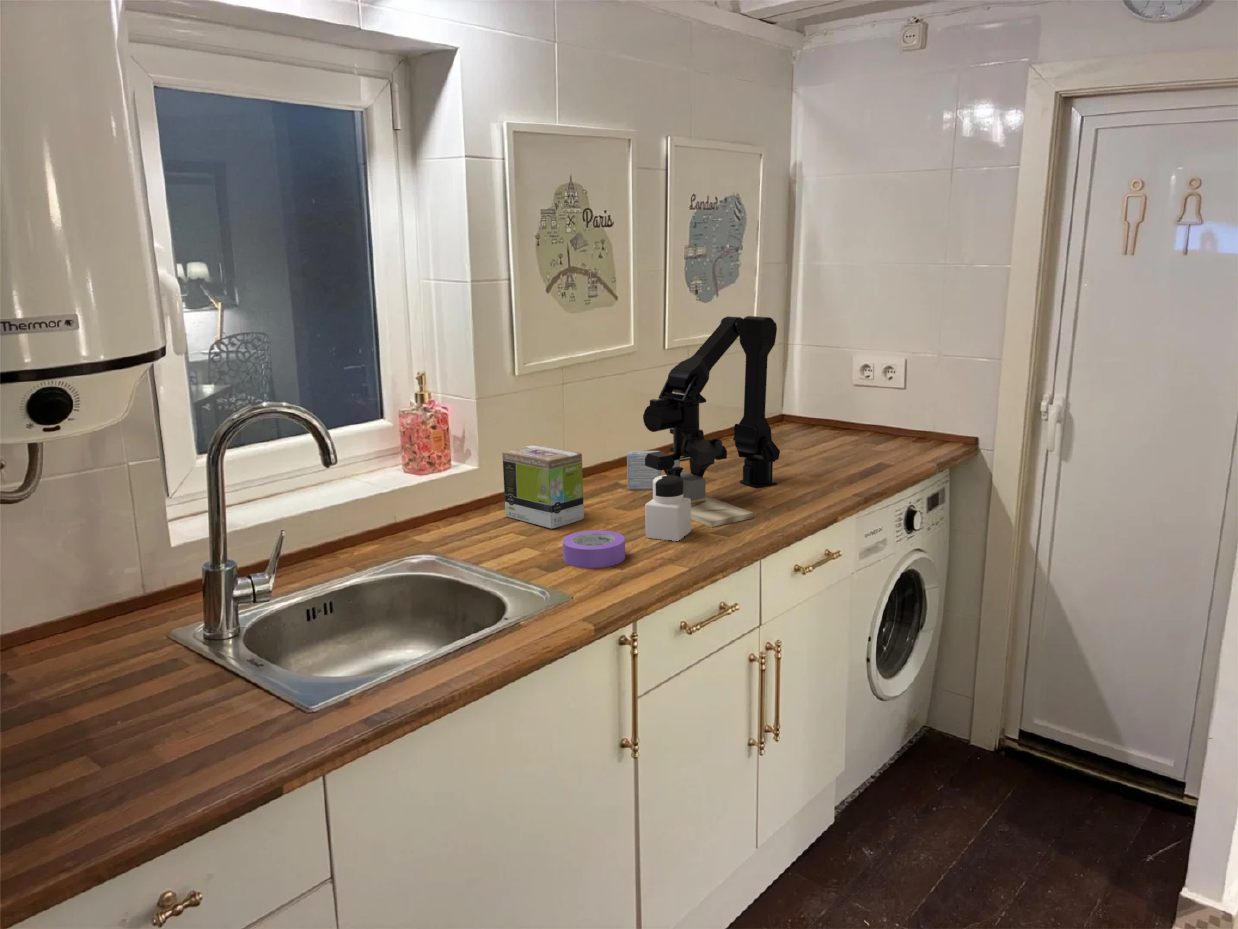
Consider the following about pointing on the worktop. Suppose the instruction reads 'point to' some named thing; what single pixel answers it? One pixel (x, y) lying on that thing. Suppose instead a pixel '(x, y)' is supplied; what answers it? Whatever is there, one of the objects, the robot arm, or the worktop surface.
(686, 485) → the block
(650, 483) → the medicine box
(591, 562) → the masking tape
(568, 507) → the tea box
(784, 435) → the worktop surface
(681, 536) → the medicine bottle
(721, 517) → the board
